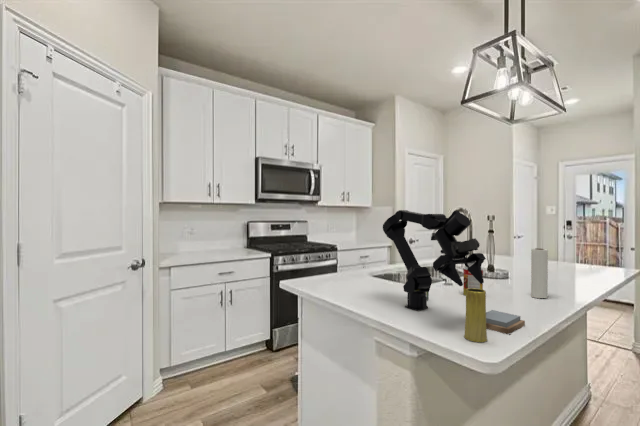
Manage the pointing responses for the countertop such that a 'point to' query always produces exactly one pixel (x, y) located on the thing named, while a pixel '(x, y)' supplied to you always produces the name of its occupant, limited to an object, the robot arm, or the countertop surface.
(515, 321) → the top brick
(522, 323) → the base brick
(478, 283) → the canned food
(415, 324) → the countertop surface
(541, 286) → the grey cylinder
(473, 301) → the vase
